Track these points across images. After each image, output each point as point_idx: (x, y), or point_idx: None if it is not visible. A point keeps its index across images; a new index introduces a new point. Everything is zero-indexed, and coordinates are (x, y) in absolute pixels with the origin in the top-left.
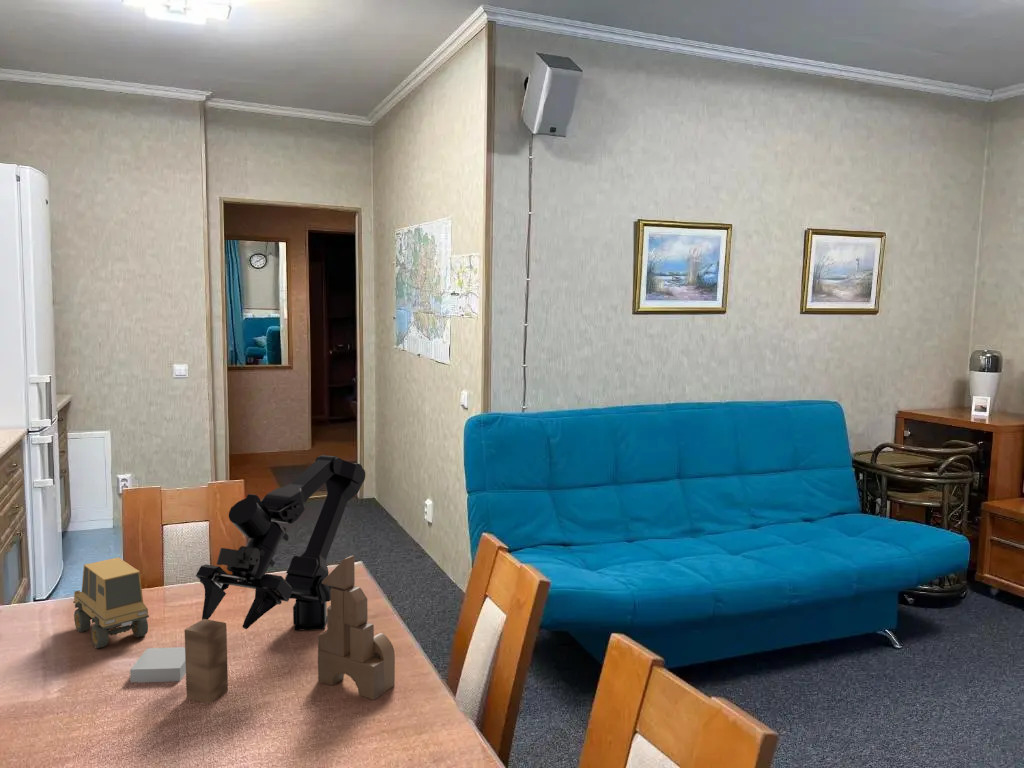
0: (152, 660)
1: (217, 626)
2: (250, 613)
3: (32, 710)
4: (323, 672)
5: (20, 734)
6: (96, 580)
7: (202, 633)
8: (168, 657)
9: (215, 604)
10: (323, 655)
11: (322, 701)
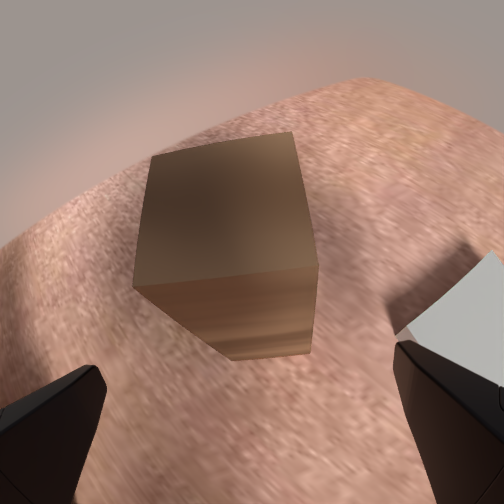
0: (500, 312)
1: (152, 228)
2: (32, 398)
3: (480, 138)
4: None
5: (420, 101)
6: None
7: (179, 151)
8: (485, 349)
9: (442, 477)
10: None
11: (29, 390)
